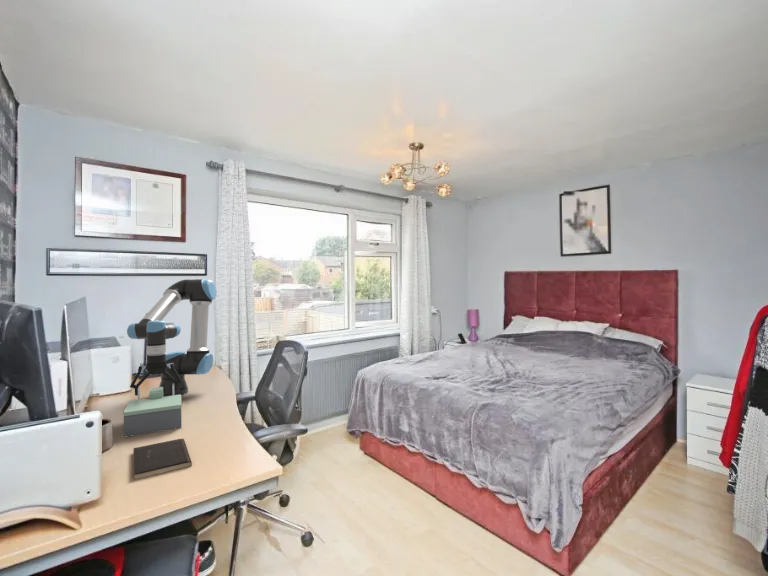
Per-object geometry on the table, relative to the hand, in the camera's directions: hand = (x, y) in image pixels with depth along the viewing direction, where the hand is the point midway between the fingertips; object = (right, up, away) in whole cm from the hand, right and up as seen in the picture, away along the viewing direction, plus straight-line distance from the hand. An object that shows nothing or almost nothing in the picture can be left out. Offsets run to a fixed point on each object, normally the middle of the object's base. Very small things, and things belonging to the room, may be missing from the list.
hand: (156, 400), depth 172 cm
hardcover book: (+29, -8, -45) cm, 54 cm away
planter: (0, -7, -37) cm, 37 cm away
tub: (+7, -7, -12) cm, 16 cm away
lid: (+5, 0, -8) cm, 10 cm away
